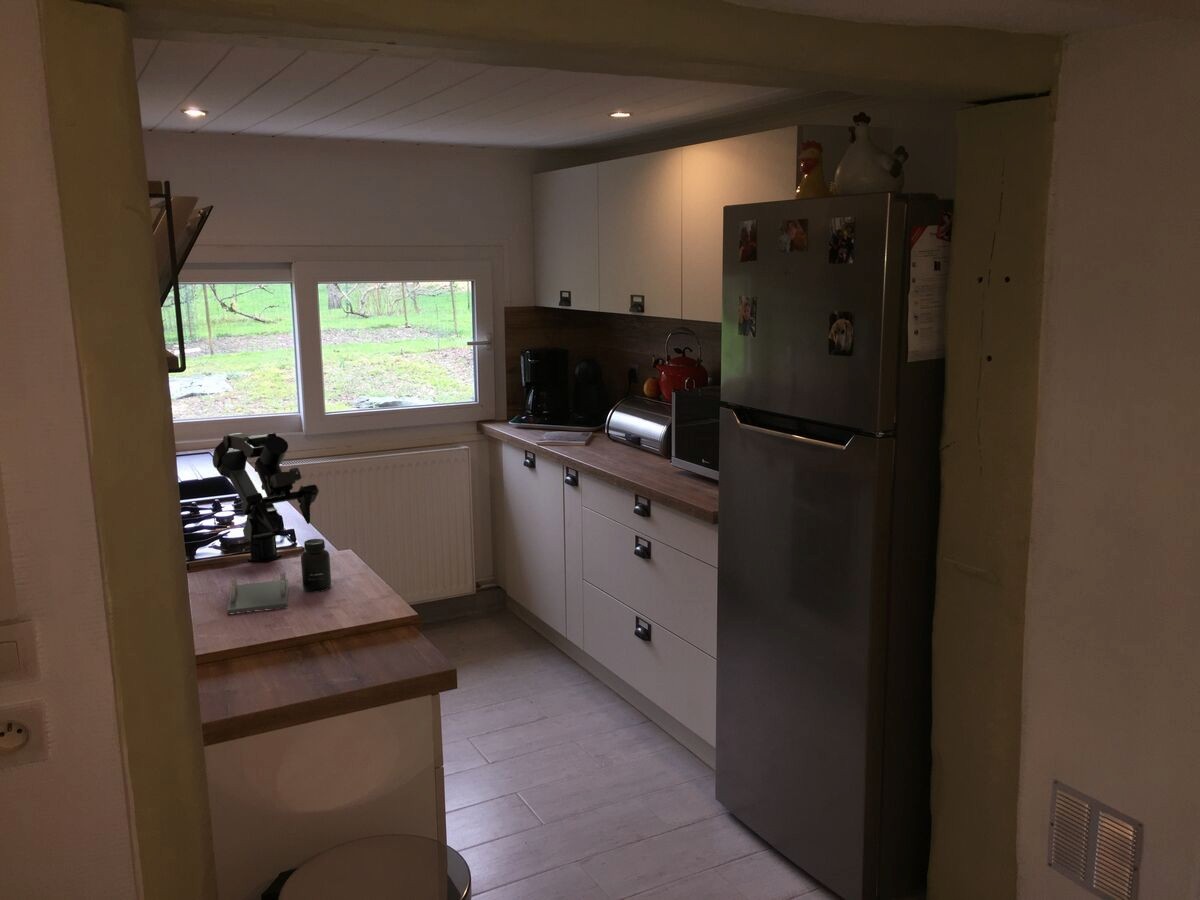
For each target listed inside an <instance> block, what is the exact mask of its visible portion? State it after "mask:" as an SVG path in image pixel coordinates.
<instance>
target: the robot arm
mask: <svg viewBox="0 0 1200 900" xmlns="http://www.w3.org/2000/svg"><path fill="white" fill-rule="evenodd" d="M288 443H289V442H287V440H285V439H284V438H283V437H281V436H277V434H276V432H271V433H266V434H265V433H264V434H256V435H249V434H245V433H243V432H235V433H227V434H226V435H224V436H223V439H222V441H221V442H220V443H219V444H218V445H217V446H216V447H215V448H214V451H213V454H212V465H213V468H215V469H216V470H217V472H218V473H219V475H220V476H222V477H225V478H226V479H228V480H229V481H230V482H231V484H232V487H233V488H234V490H235V491H236V493H237V495H238V497H239V499H240V500H241V510H242V514H243V515H244V516H246V519H245V520H246V521H245V524H244V526H243V529H242V532H243V533H242V534H243V536H244V539H246V540H248V541H250V545H249V549H250V556H249V557H247V561H252V562H259V563H268V562H270V561H273V560H275V559H278V558H280V557H282V553H278V552H277V551H278V549H277V540H276V539H277V538H276V536H282V528H283V527H282V526H283V525H282V524H283V518H282V516H281V514H280V513H278V509H277V508H276V507H275V505H274V504H279V503H283V502H290V501H295V500H297V502H298V503H299V509H300V511H301V514H302V516H303V518H304V521H305V522H306V524H307V525H310V524H311V505H312V503H314V502H315V501H316V498H317V497H318V494H319V492H320V489H319V487H318V486H317V485H316V484H315V483H308V484H303V485H300V487H299V489H298V491H297V490H296V491H293V492H291V490H293V488H294V486H293V484H296V482H297V481H298V482H299V481H300V480H301V479H302V474H301V472H300V470H299V468H298V467H291V468H290V469H289V470H288V471H282V468H281V466H280V465H282V463H283V461H284V459H285V456H286V454H287V452H288V450H289V449H288V448H289V444H288ZM248 458H249V459H254V458H256V460H255V462H254V473H255V472H256V473H257V475H258V477H259V479H260V482H261V490H262V491H264V492H265V494H266V495H265V496H263V495H262V493H260V492H259V491H258V489H257V488H256V486H255V484H254V483H253V481H252V479H251V477H250V476H249V474H248V472H247V470H246V466H247V460H248Z"/></svg>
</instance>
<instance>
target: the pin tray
mask: <svg viewBox="0 0 1200 900" xmlns="http://www.w3.org/2000/svg"><path fill="white" fill-rule="evenodd" d="M279 577H280V579H279V580H270V581H268V580H267V581H261V582H251V583H244V584H243V583H242V584H237V583H238V582H237V578H236V577H233V578H230V583H231V585H230V586H228V588H229V601H228V606H227V615H228V614H230V613H237V612H247V611H255V610H265V609H275V610H277V609H276V608H283V609H287V608H288V604H287V602H288V600H289V599H288V598H289V578H288V579H286V573H285V572H280V573H279ZM286 607H287V608H286Z"/></svg>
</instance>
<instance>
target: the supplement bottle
mask: <svg viewBox="0 0 1200 900" xmlns="http://www.w3.org/2000/svg"><path fill="white" fill-rule="evenodd" d="M303 544H304V547H303V548H304V552H302V554H301V555H300V563H301V567H300V568H301V579H302V580H301V581H302V588H303V590H304V591H306V592H309V591H310V592H309V593H311V591H313V592H312V593H315V592H314V591H319V592H323V591H322V590H324V591H326V590H325V589H327V588H329V587H330V586H331V587H332V573H331V572H332V571H331V557H330V553H329V551H328V550H326V543H325V540H324V539H323V538H311V539H307V540H305V541H304V543H303ZM331 587H330V588H331ZM330 588H329V589H330ZM327 590H328V589H327Z"/></svg>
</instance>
